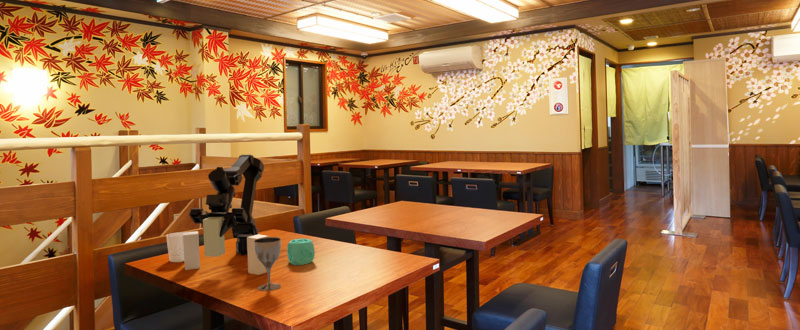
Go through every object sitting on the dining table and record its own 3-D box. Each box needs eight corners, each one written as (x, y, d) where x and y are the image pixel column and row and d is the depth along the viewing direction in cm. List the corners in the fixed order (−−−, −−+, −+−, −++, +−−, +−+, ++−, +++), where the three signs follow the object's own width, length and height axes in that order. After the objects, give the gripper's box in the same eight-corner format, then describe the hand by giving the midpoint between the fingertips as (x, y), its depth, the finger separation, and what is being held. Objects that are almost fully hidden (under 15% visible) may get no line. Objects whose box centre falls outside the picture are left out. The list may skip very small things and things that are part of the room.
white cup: (181, 263, 186) (180, 236, 185) (163, 262, 187) (161, 236, 187) (194, 257, 194) (193, 232, 193) (176, 257, 195) (175, 231, 194)
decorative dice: (315, 263, 183) (314, 241, 182) (293, 266, 179) (293, 244, 178) (308, 258, 190) (307, 237, 189) (287, 261, 186) (286, 240, 185)
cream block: (259, 269, 176) (258, 234, 175) (269, 271, 173) (268, 235, 172) (248, 272, 172) (246, 237, 171) (258, 275, 169) (257, 238, 168)
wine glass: (258, 283, 160) (256, 237, 158) (284, 282, 160) (282, 236, 159) (253, 291, 152) (251, 243, 150) (280, 290, 152) (278, 242, 151)
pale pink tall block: (199, 264, 183) (198, 231, 182) (200, 268, 179) (198, 233, 178) (184, 266, 181) (183, 232, 180) (184, 270, 177) (183, 235, 176)
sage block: (210, 252, 173) (209, 217, 172) (225, 252, 172) (223, 216, 171) (204, 256, 168) (202, 219, 167) (219, 256, 167) (217, 219, 166)
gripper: (189, 185, 172) (176, 223, 162) (243, 184, 172) (232, 222, 162) (200, 204, 181) (188, 241, 171) (251, 203, 180) (242, 241, 170)
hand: (212, 236), depth 168 cm, fingers closed on sage block, 5 cm apart
